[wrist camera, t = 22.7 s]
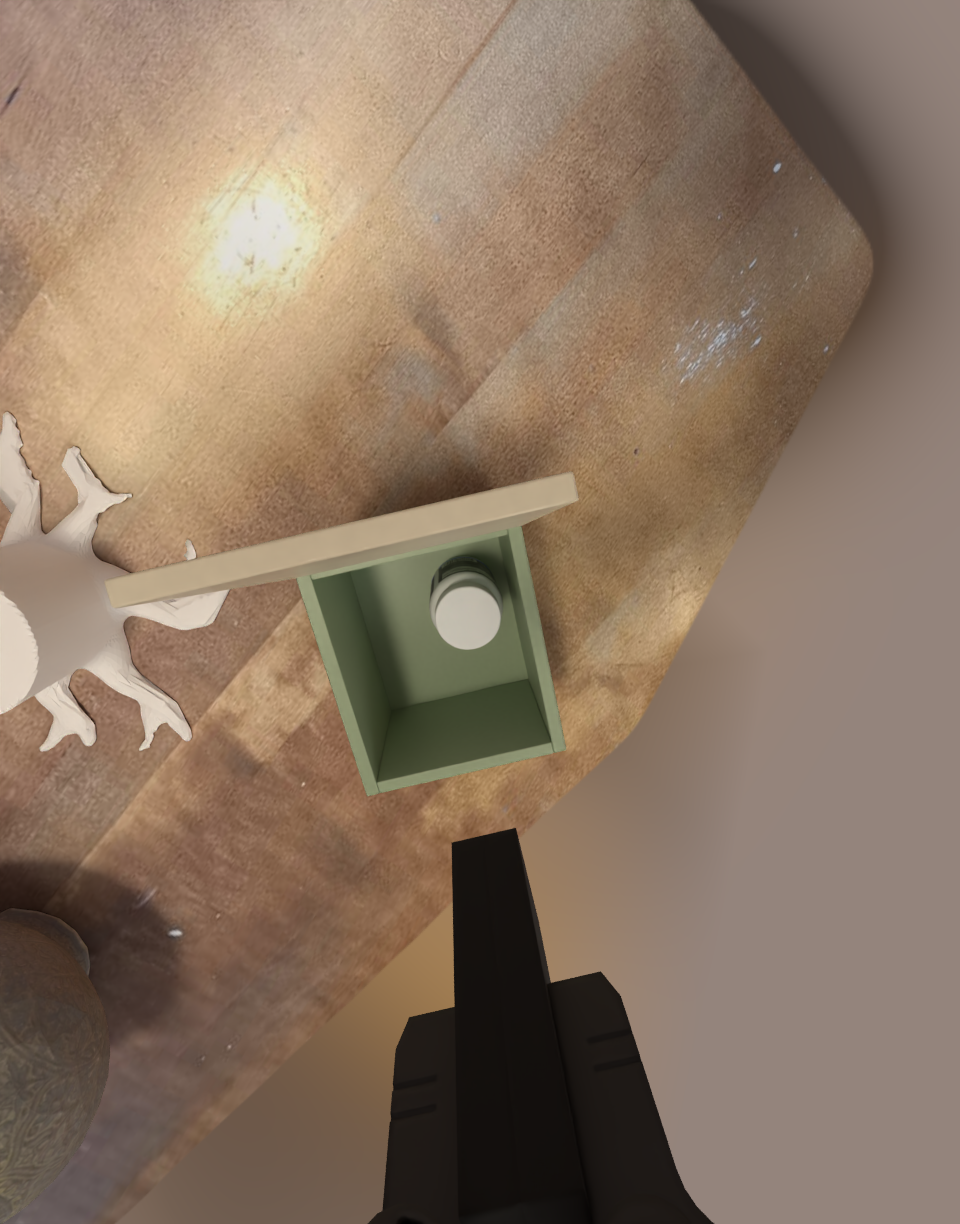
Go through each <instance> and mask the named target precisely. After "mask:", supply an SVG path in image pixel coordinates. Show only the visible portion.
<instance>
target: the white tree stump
mask: <svg viewBox="0 0 960 1224" xmlns="http://www.w3.org/2000/svg"><path fill="white" fill-rule="evenodd" d="M15 424H16V419H15V418H14V417H13V415H12V414H10V413H9V412H5V413H4V414H3V428H2V432H1V433H0V499H1V500H2V502H3V503H4V504H5V506H6V507H7V508H8V510H9V511H10V512H11V514H12V515H11V517H10V520H9V522H8V525H7V527H6V530H5V532H4V535H3V538H2V541H1V543H0V714H3V713H5V712H7V711H9V710H10V709H12V708H14V707H15V706H17V705H19V704H20V703H22V702H24V701H25V700H27V699H29V698H30V697H32V696H34V695H35V697H36V698H37V700H38V701H39V702H40V703H41V704H42V705H43V706H44V707H45V708H46V709H48V710H49V711H50V712H51V713H52V714H53V716H54V719H53V723H52V726H51V728H50V731H49V735H48V737H47V739H46V740H45V742H44V743H43V745H41V746H40V747H39V749H40V751H48V750H49V749H50V748H53V747H54V746H55V745H56V744H57V743H59V742H60V741H61V740H62V738H63V737H64V736H66V735H69V734H74V733H76V734H78V735H79V736H80V738H81V740H82V742H83V743H84V744H85V745H86V746H92V745H93V744H94V742H95V741H96V730H95V725H94V723H93V722H92V720H91V719H90V718H89V717H88V716H87V715H86V714H85V713H84V711H83V710H82V709H81V708H80V707H79V705H78V704H77V702H76V700H75V698H74V697H73V695H72V693H71V692H70V690H69V688H68V686H69V683H70V679H71V676H72V674H73V673H74V672H75V671H76V670H77V669H86V670H88V671H90V672H92V673H93V674H95V675H96V676H97V677H99V678H100V679H101V680H102V681H103V682H105V683H106V684H107V685H108V686H110V687H111V688H113V689H115V690H116V691H118V692H119V693H121V694H123V695H126V696H129V697H131V698H133V699H135V700H137V701H138V703H139V704H140V707H141V717H142V720H143V724H144V730H145V740H144V742H143V743H142V744H141V746H140V749H139V750H140V751H142V750H143V749H145V748H149V747H150V743H151V742H152V739H153V737H154V735H153V733H154V732H155V731H156V730H157V728H158V726H159V725H160V724H162V723H168V724H169V726H170V727H171V728H172V729H173V730H175V731H176V732H177V733H178V734H179V735H180V736H181V737H182V739H183V740H185V741H190V739H191V738H192V733H191V729H190V727H189V725H188V723H187V721H186V719H185V717H184V715H183V713H182V712H181V710H180V708H179V706H178V704H177V703H176V702H175V701H174V700H173V699H172V698H170V697H169V696H167V695H166V694H165V693H164V692H163V691H162V690H160V689H159V688H158V687H157V686H155V685H154V684H153V683H151V682H150V681H149V680H147V679H146V678H145V677H144V676H142V675H141V674H140V673H139V672H138V671H137V669H136V668H135V666H134V665H133V664H132V660H131V654H130V649H129V645H128V641H127V638H126V635H125V632H124V628H123V624H124V621H125V620H126V619H127V618H128V617H129V616H139V617H144V618H147V619H150V620H153V621H156V622H159V623H162V624H164V625H167V626H170V627H174V628H177V629H180V630H190V629H194V628H199V627H206V626H207V625H209V624H211V623H212V622H214V620H215V618H216V616H217V614H218V612H219V610H220V608H221V606H222V604H223V602H224V600H225V598H226V596H227V595H228V593H229V591H230V589H229V590H223V591H217V592H211V593H205V594H199V595H193V596H188V597H182V598H176V599H170V600H164V601H158V602H152V603H146V604H140V605H134V606H128V607H122V608H113V607H112V606H111V603H110V600H109V596H108V593H107V590H106V587H105V583H104V581H105V580H106V579H109V578H113V577H117V576H122V575H126V574H130V573H129V572H127V571H125V570H123V569H121V568H119V567H117V566H114V565H112V564H109V563H106V562H103V561H101V560H99V559H98V558H97V557H96V556H95V554H94V552H93V550H92V541H91V540H92V538H93V535H94V533H95V530H96V528H97V525H98V524H97V522H96V518H97V517H98V514H99V513H100V512H104V511H105V510H106V509H107V508H108V507H110V506H111V505H113V504H120V503H121V502H123V501H124V500H125V499H126V498H127V497H131V498H132V494H122V493H121V494H115V493H109V491H108V490H107V489H106V488H104V487H103V486H102V484H101V481H100V480H99V479H97V478H95V477H94V474H93V473H92V471H91V470H90V468H89V467H88V466H87V464H86V463H85V461H84V460H83V458H82V457H81V455H80V449H79V448H77V447H75V446H73V447H72V448H70V449H68V450H67V453H66V455H65V458H64V461H63V463H62V466H63V468H64V469H65V471H66V473H67V474H68V476H69V477H70V479H71V481H72V482H73V484H74V485H75V487H76V488H77V490H78V505H77V507H76V508H75V509H74V510H73V511H72V512H71V513H70V514H69V515H67V516H66V517H65V518H64V519H63V520H62V521H61V522H60V523H59V524H58V525H57V526H55V527H54V528H53V529H52V530H51V531H50V532H49V533H48V534H44V533H43V532H42V530H41V521H40V487H39V482H40V481H38V480H35V479H33V478H32V476H31V470H29V469H28V468H27V467H26V465H25V463H26V462H25V460H24V459H23V458H22V456H21V455H20V454H19V449H20V448H21V447H22V446H23V444H22V441H21V439H20V436H19V433H20V431H19V430H18V429H17V428H16V427H15ZM191 543H192V542H191V541H189V540H188V539H187V540H186V543H185V545H186V547H187V552H186V554H184V556H185V557H186V558H187V560H190V559H195V558H196V553H195V550H194V547H193V545H191Z"/></svg>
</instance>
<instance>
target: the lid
mask: <svg viewBox="0 0 960 1224" xmlns="http://www.w3.org/2000/svg"><path fill="white" fill-rule="evenodd" d="M578 498H579V497H578V492H577V487H576V482H575V478H574V474H573V472H570V471H569V472H565V473H560V474H556V475H552V476H548V477H543V478H539V479H535V480H530V481H526V482H522V483H517V484H513V485H509V486H505V487H500V488H496V489H492V490H487V491H483V492H479V493H474V494H470V495H466V496H461V497H457V498H453V499H449V500H444V501H440V502H436V503H431V504H427V505H423V506H418V507H414V508H410V509H406V510H401V511H397V512H393V513H388V514H384V515H380V516H375V517H371V518H367V519H363V520H358V521H354V522H350V523H345V524H341V525H337V526H332V527H328V528H324V529H320V530H315V531H311V532H307V533H302V534H298V535H294V536H289V537H285V538H281V539H276V540H272V541H268V542H264V543H259V544H255V545H251V546H246V547H242V548H238V549H233V550H229V551H225V552H221V553H216V554H212V555H208V556H203V557H199V558H195V559H190V560H186V561H182V562H178V563H173V564H169V565H165V566H160V567H156V568H152V569H147V570H143V571H139V572H135V573H130V574H126V575H122V576H117V577H113V578H109V579H106V580H105V581H104V583H105V587H106V590H107V593H108V596H109V600H110V603H111V606H112V607H113V608H122V607H128V606H134V605H140V604H146V603H152V602H158V601H164V600H170V599H176V598H182V597H188V596H193V595H199V594H205V593H211V592H217V591H223V590H229V589H235V588H241V587H247V586H253V585H259V584H265V583H271V582H277V581H283V580H289V579H295V578H299V577H303V576H307V575H312V574H316V573H320V572H325V571H329V570H333V569H338V568H342V567H346V566H351V565H355V564H359V563H363V562H368V561H372V560H376V559H381V558H385V557H389V556H394V555H398V554H402V553H407V552H411V551H415V550H419V549H424V548H428V547H432V546H437V545H441V544H445V543H450V542H454V541H458V540H463V539H467V538H471V537H475V536H480V535H484V534H488V533H493V532H497V531H501V530H506V529H510V528H514V527H519V526H522V525H524V524H527V523H529V522H531V521H533V520H536V519H538V518H540V517H542V516H545V515H547V514H549V513H551V512H554V511H556V510H558V509H561V508H563V507H565V506H567V505H570V504H572V503H574V502H576V501H578Z"/></svg>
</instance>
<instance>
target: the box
mask: <svg viewBox="0 0 960 1224" xmlns="http://www.w3.org/2000/svg"><path fill="white" fill-rule="evenodd" d="M459 556H468V557H472V558H475V559H478V560H480V561H481V562H483V563H484V564H485V565H486V566H487V567H488V568H489V569H490V571H491V573H492V575H493V577H494V579H495V581H496V584H497V587H498V589H499V591H500V593H501V596H502V601H503V613H502V617H501V622H500V627H499V629H498V631H497V633H496V635H495V636H494V638H493V639H492V640H491V641H490V642H488V643H487V644H485V645H484V646H482V647H480V648H476V649H470V650H465V649H459V648H456V647H453V646H452V645H450V644H448V643H447V642H446V641H445V640H444V639H443V638H442V637H441V636H440V634H439V632H438V630H437V629H436V627H435V626H434V624H433V622H432V619H431V616H430V611H429V603H430V592H431V583H432V579H433V576H434V574H435V572H436V571H437V569H438V568H439V567H440V566H441V565H442V564H443V563H444V562H446V561H447V560H449V559H451V558H454V557H459ZM296 580H297V583H298V586H299V589H300V592H301V595H302V598H303V601H304V604H305V607H306V610H307V613H308V617H309V620H310V623H311V626H312V629H313V632H314V635H315V638H316V641H317V644H318V647H319V650H320V653H321V656H322V659H323V663H324V666H325V669H326V672H327V675H328V678H329V681H330V684H331V687H332V690H333V693H334V696H335V699H336V702H337V705H338V708H339V712H340V715H341V718H342V721H343V724H344V727H345V730H346V733H347V736H348V739H349V742H350V745H351V748H352V751H353V754H354V758H355V761H356V764H357V767H358V770H359V773H360V776H361V779H362V782H363V785H364V788H365V791H366V794H367V796H371V795H375V794H379V793H383V792H387V791H391V790H396V789H400V788H404V787H409V786H413V785H417V784H422V783H426V782H430V781H435V780H439V779H443V778H448V777H452V776H456V775H461V774H465V773H469V772H474V771H478V770H482V769H487V768H491V767H495V766H500V765H504V764H508V763H513V762H517V761H521V760H526V759H530V758H534V757H539V756H543V755H547V754H552V753H553V751H554V753H556V752H560V751H564V750H566V745H565V740H564V735H563V730H562V725H561V720H560V715H559V711H558V706H557V701H556V696H555V691H554V686H553V681H552V676H551V671H550V666H549V661H548V656H547V651H546V646H545V641H544V636H543V631H542V626H541V621H540V616H539V611H538V606H537V601H536V596H535V591H534V586H533V581H532V576H531V571H530V566H529V561H528V556H527V551H526V546H525V541H524V536H523V531H522V526H519V527H514V528H510V529H506V530H501V531H497V532H493V533H488V534H484V535H480V536H475V537H471V538H467V539H463V540H458V541H454V542H450V543H445V544H441V545H437V546H432V547H428V548H424V549H419V550H415V551H411V552H407V553H402V554H398V555H394V556H389V557H385V558H381V559H376V560H372V561H368V562H363V563H359V564H355V565H351V566H346V567H342V568H338V569H333V570H329V571H325V572H320V573H316V574H312V575H307V576H303V577H299V578H296Z"/></svg>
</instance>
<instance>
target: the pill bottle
mask: <svg viewBox="0 0 960 1224" xmlns="http://www.w3.org/2000/svg"><path fill="white" fill-rule="evenodd" d="M429 611H430V616H431V619H432V622H433V624H434V626H435V627H436V629H437V630H438V632H439V634H440V636H441V637H442V638H443V639H444V640H445V641H446V642H447V643H448V644H450V645H452V646H453V647H456V648H459V649H465V650H470V649H476V648H480V647H482V646H484V645H485V644H487V643H488V642H490V641H491V640H492V639H493V638H494V636H495V635H496V633H497V631H498V629H499V627H500V622H501V617H502V613H503V601H502V596H501V593H500V591H499V589H498V587H497V584H496V581H495V579H494V577H493V575H492V573H491V571H490V569H489V568H488V567H487V566H486V565H485V564H484V563H483V562H481V561H480V560H478V559H475V558H472V557H468V556H459V557H454V558H451V559H449V560H447V561H446V562H444V563H443V564H442V565H441V566H440V567H439V568H438V569H437V571H436V572H435V574H434V576H433V579H432V583H431V592H430V603H429Z"/></svg>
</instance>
